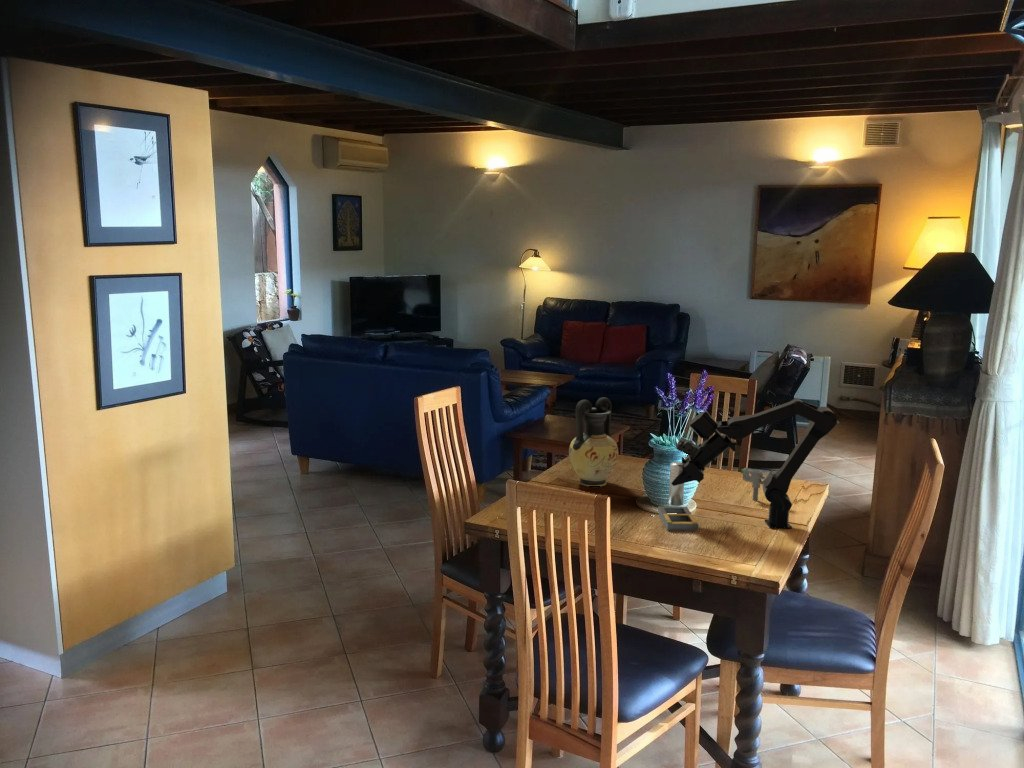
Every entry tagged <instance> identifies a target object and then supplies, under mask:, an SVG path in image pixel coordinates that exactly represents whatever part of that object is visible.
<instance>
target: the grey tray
mask: <svg viewBox="0 0 1024 768" xmlns="http://www.w3.org/2000/svg"><path fill="white" fill-rule="evenodd" d="M658 512H659V514H658V515H659V518H660V519H661V522H662V523H663V525H664V527H665V529H666V531H669V532H670V531H671V532H672V531H675V532H679V531H680V532H699V523H698V521H697V520H696V518H695V517H694V515H693V514H692V512H691V511H690V509H689V508H688V507H687V506H664V505H663V506H657V513H658ZM667 513H677V514H667Z"/></svg>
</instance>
